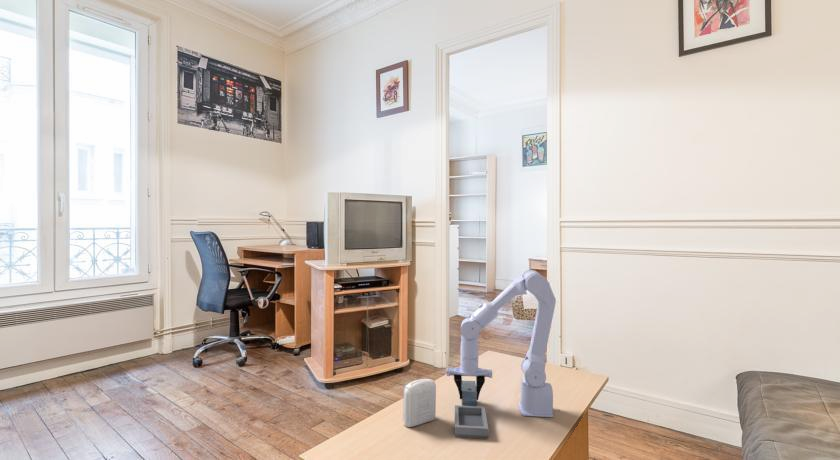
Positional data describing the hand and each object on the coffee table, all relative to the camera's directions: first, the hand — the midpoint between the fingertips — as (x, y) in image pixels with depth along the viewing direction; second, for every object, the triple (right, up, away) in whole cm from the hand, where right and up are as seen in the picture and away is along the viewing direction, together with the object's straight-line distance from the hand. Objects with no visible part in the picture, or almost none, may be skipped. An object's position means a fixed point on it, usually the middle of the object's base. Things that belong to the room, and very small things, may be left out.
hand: (468, 398), depth 124 cm
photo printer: (-16, -3, -10) cm, 19 cm away
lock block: (0, -2, 0) cm, 2 cm away
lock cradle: (-1, -3, -12) cm, 12 cm away
